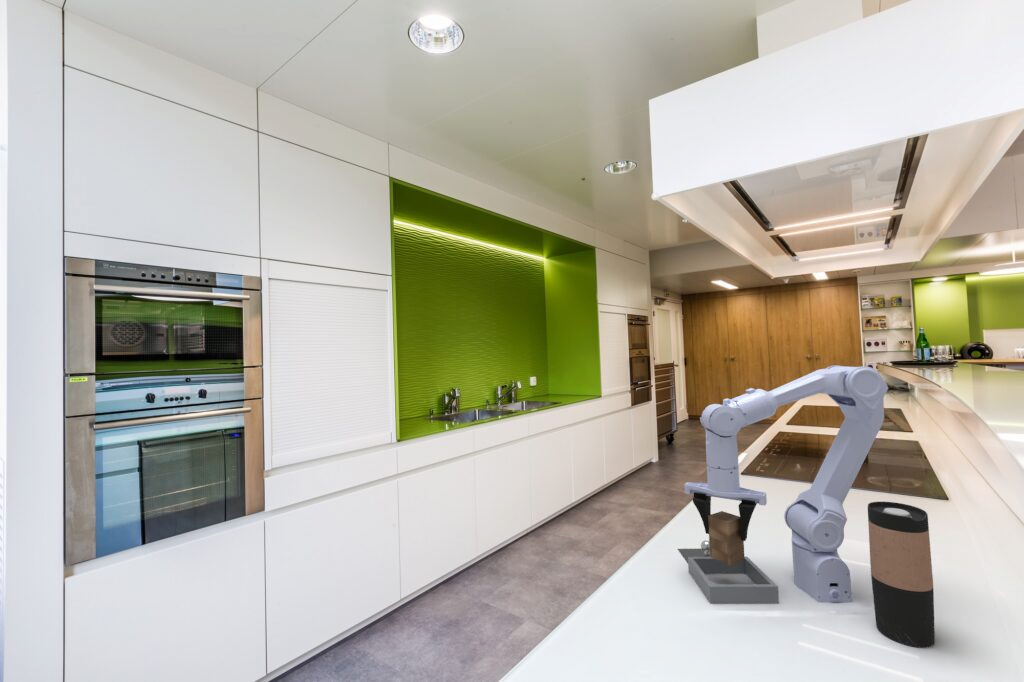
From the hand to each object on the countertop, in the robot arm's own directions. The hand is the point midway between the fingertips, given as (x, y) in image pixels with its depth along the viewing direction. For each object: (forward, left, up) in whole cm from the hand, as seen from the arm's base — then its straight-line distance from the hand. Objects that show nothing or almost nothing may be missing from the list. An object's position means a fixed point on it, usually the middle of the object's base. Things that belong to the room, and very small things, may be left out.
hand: (726, 535), depth 88 cm
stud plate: (+11, 0, -10) cm, 15 cm away
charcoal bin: (-1, 0, -10) cm, 10 cm away
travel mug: (-14, -22, -11) cm, 28 cm away
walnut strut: (0, 0, -4) cm, 4 cm away
